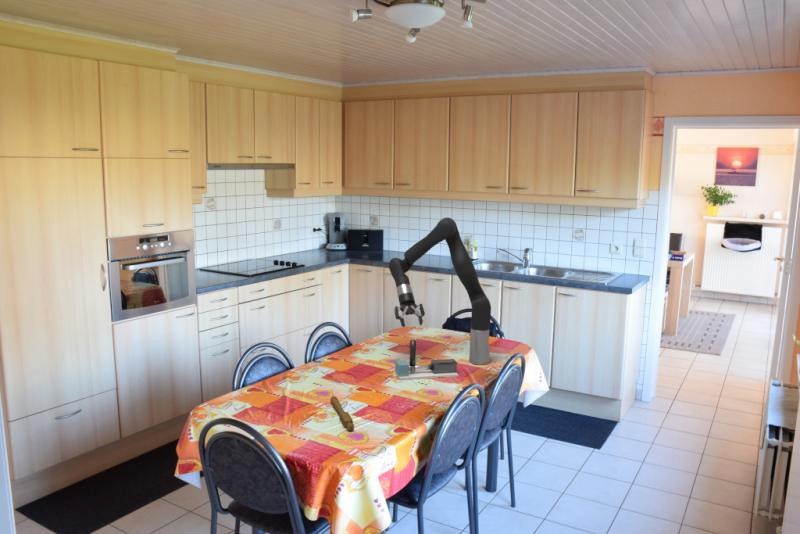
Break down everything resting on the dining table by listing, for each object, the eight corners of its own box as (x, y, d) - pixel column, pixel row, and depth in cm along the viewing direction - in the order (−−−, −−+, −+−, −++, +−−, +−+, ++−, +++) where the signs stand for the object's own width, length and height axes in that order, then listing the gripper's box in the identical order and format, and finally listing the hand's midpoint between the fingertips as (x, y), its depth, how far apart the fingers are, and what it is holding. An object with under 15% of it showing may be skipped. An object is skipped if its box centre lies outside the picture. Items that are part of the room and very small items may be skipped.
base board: (451, 369, 309) (451, 367, 309) (458, 376, 298) (458, 374, 298) (394, 372, 302) (394, 370, 302) (399, 380, 292) (399, 377, 292)
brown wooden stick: (337, 395, 264) (355, 424, 235) (337, 402, 264) (355, 432, 236) (329, 396, 263) (347, 425, 234) (329, 403, 263) (347, 432, 235)
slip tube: (434, 369, 303) (436, 338, 300) (437, 371, 299) (438, 340, 297) (399, 371, 299) (400, 340, 296) (401, 373, 295) (402, 342, 293)
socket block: (404, 370, 302) (404, 359, 301) (408, 376, 294) (408, 364, 293) (395, 371, 301) (395, 360, 300) (399, 376, 293) (399, 365, 292)
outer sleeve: (453, 369, 306) (453, 359, 305) (456, 372, 301) (457, 362, 300) (430, 370, 303) (431, 360, 303) (434, 373, 298) (434, 363, 298)
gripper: (392, 293, 310) (399, 324, 303) (421, 290, 314) (428, 320, 307) (390, 300, 316) (396, 330, 309) (417, 297, 320) (424, 326, 313)
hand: (412, 325), depth 308 cm, fingers open, 8 cm apart
